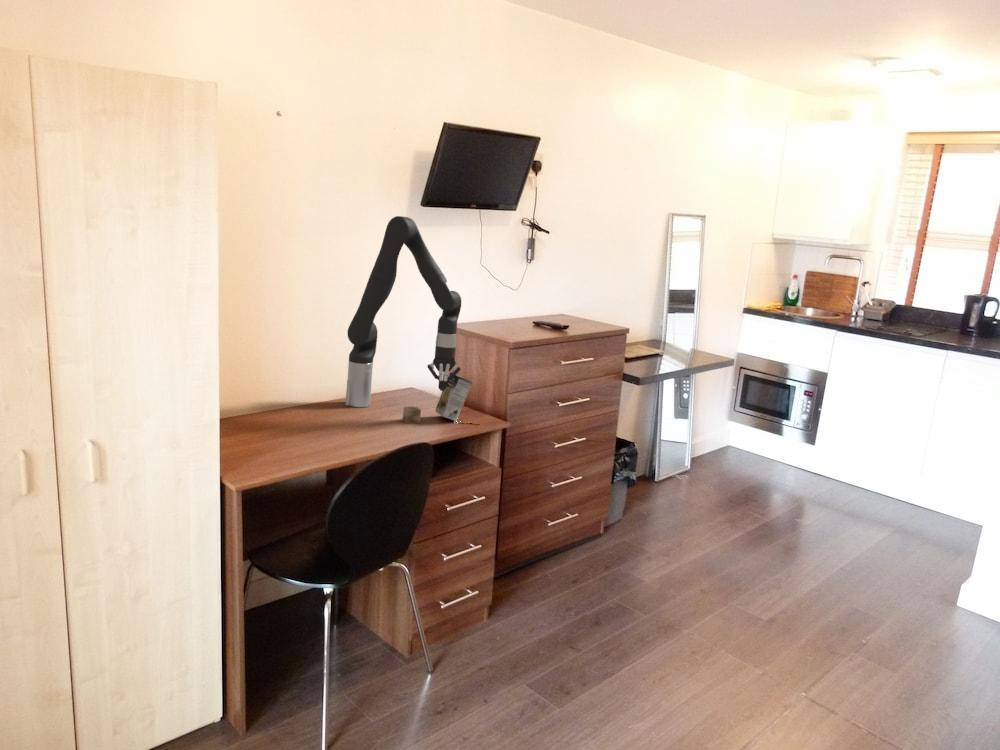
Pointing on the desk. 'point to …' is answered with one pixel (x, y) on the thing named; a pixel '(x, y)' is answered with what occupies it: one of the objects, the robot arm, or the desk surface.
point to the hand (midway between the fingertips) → (442, 390)
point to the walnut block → (411, 414)
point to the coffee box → (453, 397)
